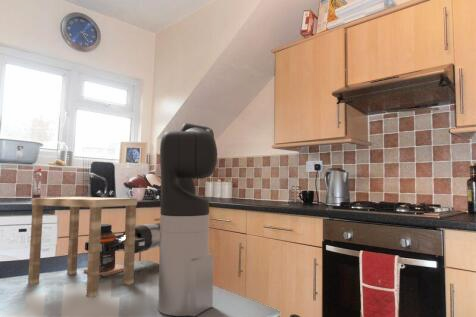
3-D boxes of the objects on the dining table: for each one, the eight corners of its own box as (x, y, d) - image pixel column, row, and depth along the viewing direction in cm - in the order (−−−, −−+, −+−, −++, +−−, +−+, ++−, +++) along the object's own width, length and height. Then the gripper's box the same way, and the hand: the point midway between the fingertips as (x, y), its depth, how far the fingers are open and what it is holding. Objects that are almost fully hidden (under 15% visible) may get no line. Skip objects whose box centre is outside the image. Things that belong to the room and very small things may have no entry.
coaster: (128, 269, 91) (128, 266, 91) (105, 276, 84) (105, 273, 84) (108, 266, 95) (108, 263, 95) (83, 272, 88) (83, 269, 88)
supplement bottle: (103, 266, 88) (104, 222, 89) (120, 268, 85) (121, 224, 86) (84, 271, 82) (85, 225, 83) (101, 274, 80) (102, 226, 81)
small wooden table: (134, 282, 78) (137, 198, 80) (91, 297, 68) (95, 199, 70) (72, 272, 88) (76, 197, 90) (26, 283, 78) (31, 198, 80)
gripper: (125, 223, 100) (75, 230, 86) (162, 226, 94) (116, 233, 79) (124, 248, 100) (74, 260, 85) (162, 253, 93) (115, 266, 78)
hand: (95, 247), depth 82 cm, fingers closed on supplement bottle, 6 cm apart
